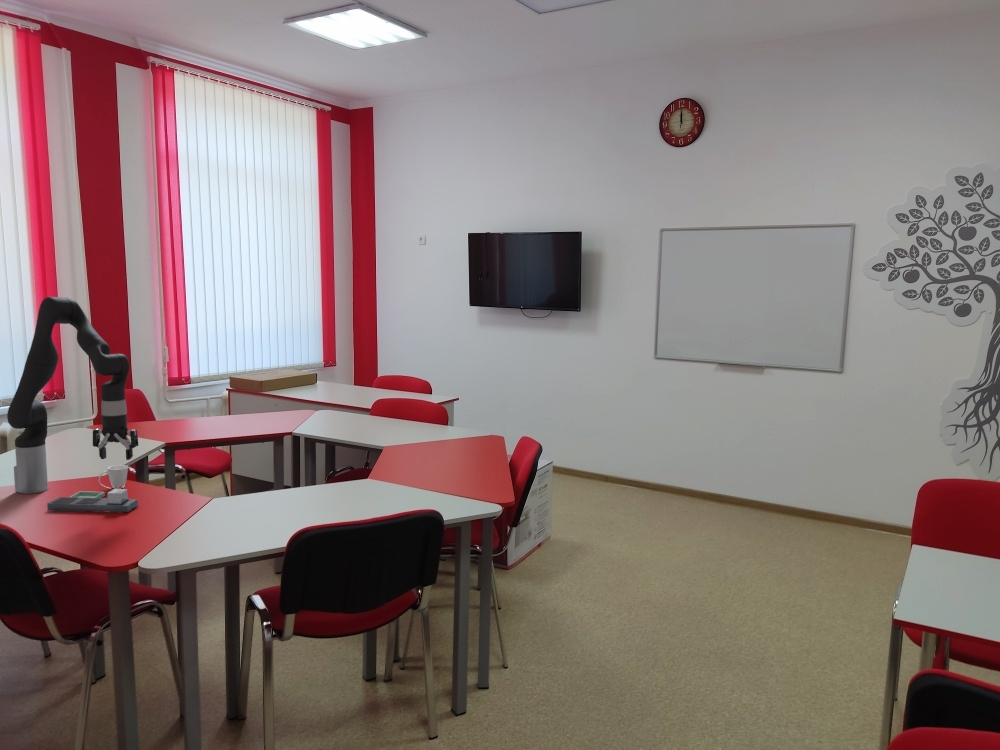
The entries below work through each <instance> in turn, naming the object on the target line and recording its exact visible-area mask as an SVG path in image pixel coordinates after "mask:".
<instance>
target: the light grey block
mask: <svg viewBox="0 0 1000 750" xmlns="http://www.w3.org/2000/svg"><path fill="white" fill-rule="evenodd" d="M128 491H129V490H128V489H127V488H126V489H125V488H123V489H111V490H110V491H108V492H107V498H108V505H123V504H124V503H126V502H128V499H129V496H128V495H129V493H128Z"/></svg>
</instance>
